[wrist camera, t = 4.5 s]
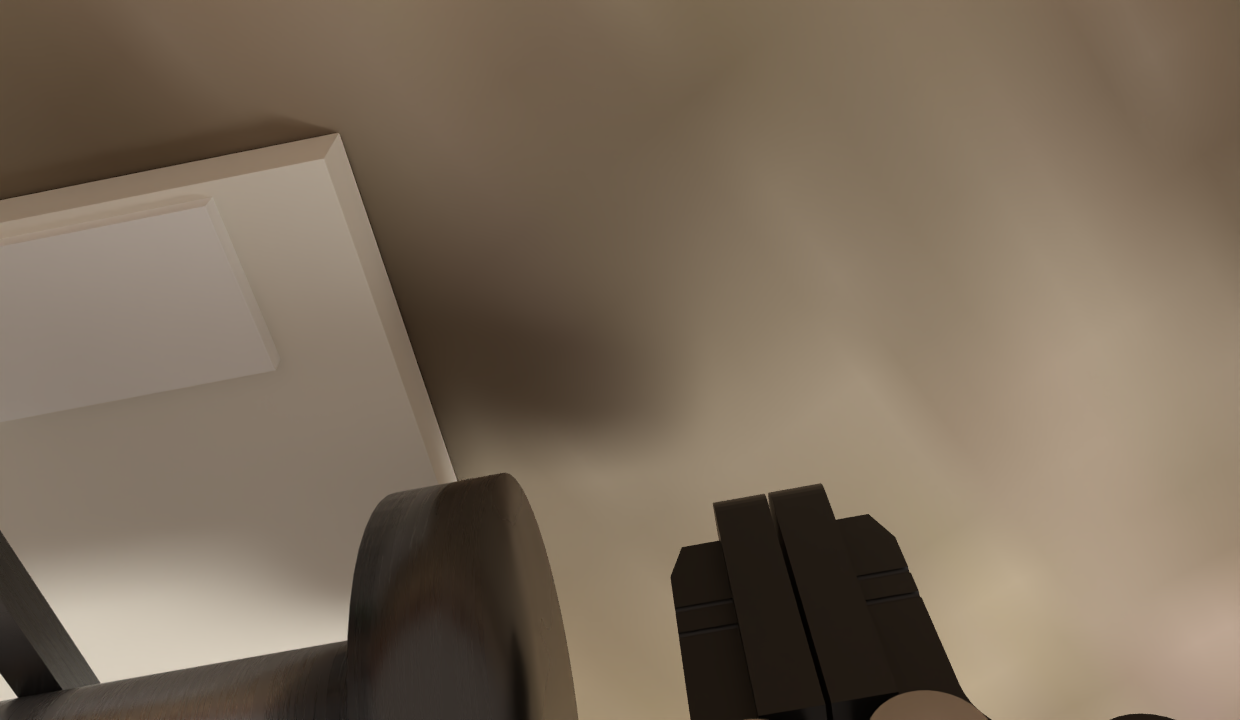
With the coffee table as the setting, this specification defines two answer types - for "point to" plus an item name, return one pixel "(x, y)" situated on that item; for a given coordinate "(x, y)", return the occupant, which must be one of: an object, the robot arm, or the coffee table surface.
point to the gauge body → (202, 405)
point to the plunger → (350, 632)
